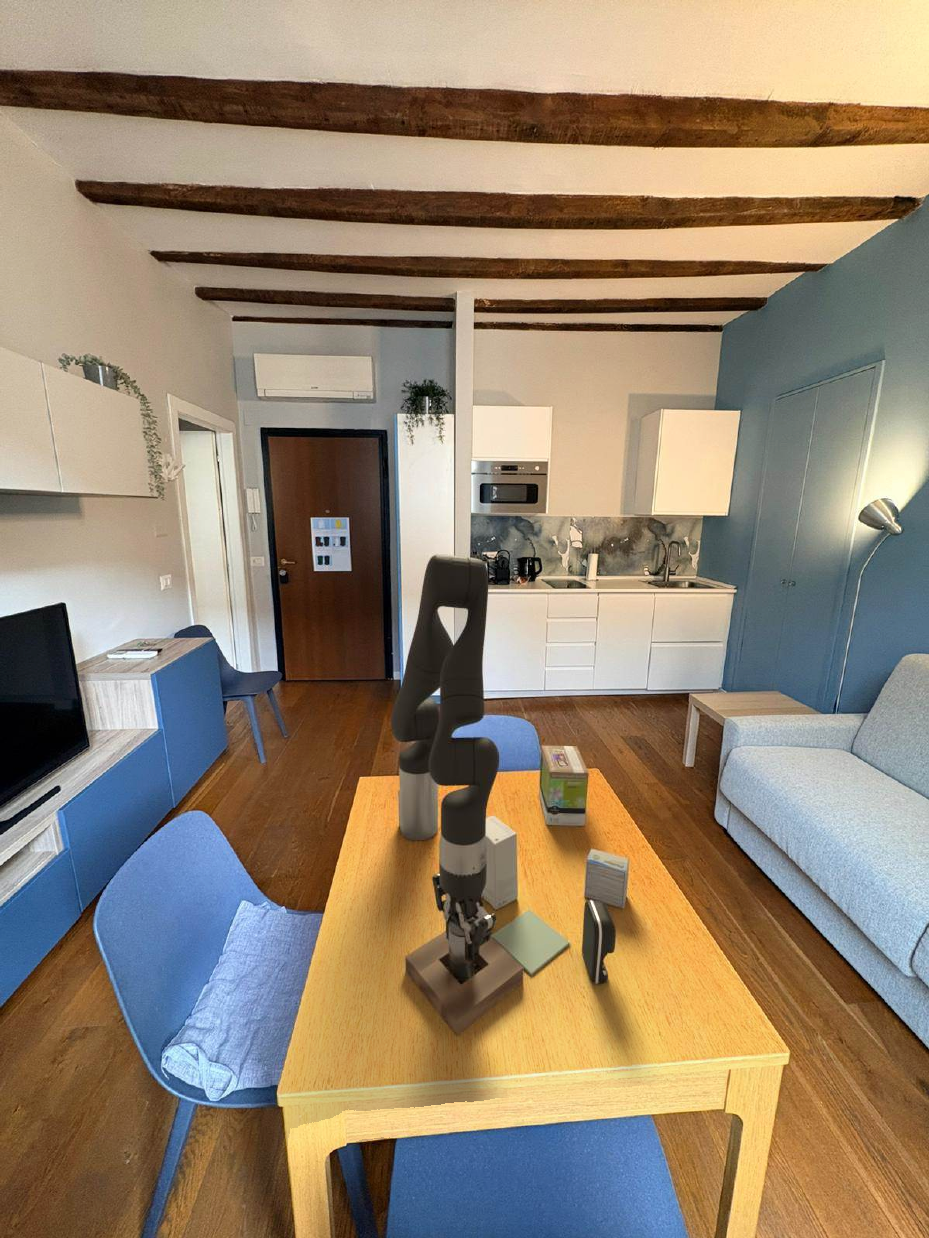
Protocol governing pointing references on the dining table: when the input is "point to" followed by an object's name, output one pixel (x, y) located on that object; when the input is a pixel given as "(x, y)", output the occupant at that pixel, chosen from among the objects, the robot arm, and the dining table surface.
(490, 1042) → the dining table surface
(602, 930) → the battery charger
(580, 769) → the tea box
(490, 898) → the skincare box
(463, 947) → the shiny metal cylinder
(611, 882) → the medicine box
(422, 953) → the bore block
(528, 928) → the mat
